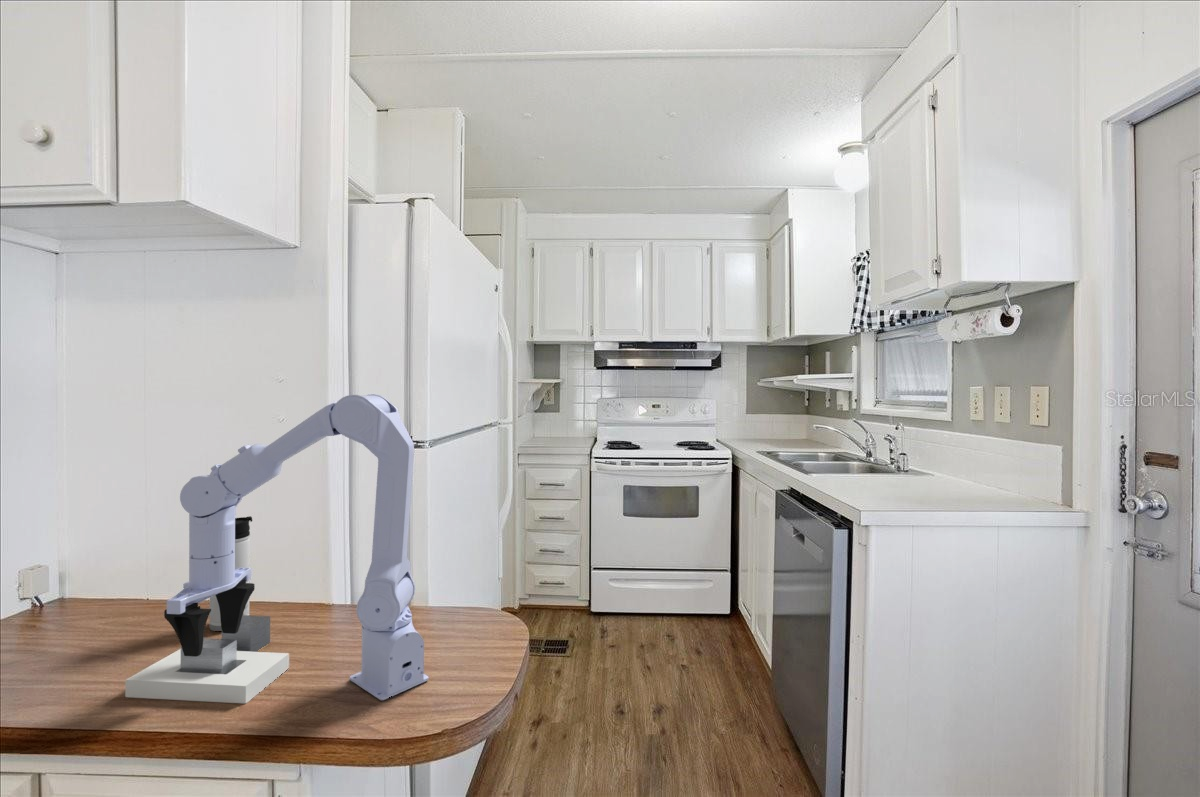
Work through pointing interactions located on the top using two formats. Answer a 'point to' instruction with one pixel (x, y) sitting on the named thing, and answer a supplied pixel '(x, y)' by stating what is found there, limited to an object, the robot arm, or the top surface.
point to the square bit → (251, 633)
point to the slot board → (208, 679)
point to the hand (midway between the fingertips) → (212, 643)
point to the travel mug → (240, 562)
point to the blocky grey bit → (212, 657)
